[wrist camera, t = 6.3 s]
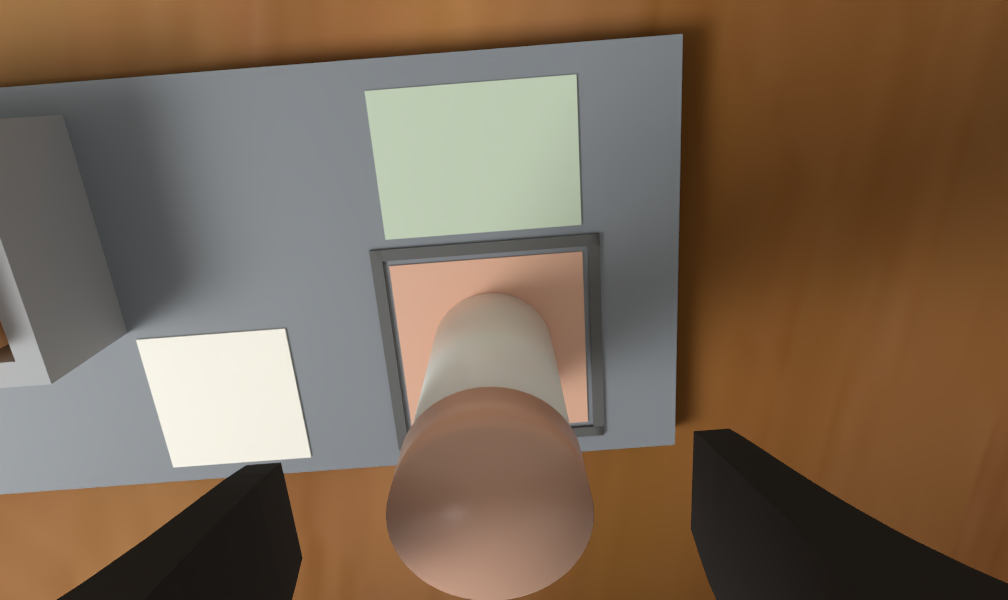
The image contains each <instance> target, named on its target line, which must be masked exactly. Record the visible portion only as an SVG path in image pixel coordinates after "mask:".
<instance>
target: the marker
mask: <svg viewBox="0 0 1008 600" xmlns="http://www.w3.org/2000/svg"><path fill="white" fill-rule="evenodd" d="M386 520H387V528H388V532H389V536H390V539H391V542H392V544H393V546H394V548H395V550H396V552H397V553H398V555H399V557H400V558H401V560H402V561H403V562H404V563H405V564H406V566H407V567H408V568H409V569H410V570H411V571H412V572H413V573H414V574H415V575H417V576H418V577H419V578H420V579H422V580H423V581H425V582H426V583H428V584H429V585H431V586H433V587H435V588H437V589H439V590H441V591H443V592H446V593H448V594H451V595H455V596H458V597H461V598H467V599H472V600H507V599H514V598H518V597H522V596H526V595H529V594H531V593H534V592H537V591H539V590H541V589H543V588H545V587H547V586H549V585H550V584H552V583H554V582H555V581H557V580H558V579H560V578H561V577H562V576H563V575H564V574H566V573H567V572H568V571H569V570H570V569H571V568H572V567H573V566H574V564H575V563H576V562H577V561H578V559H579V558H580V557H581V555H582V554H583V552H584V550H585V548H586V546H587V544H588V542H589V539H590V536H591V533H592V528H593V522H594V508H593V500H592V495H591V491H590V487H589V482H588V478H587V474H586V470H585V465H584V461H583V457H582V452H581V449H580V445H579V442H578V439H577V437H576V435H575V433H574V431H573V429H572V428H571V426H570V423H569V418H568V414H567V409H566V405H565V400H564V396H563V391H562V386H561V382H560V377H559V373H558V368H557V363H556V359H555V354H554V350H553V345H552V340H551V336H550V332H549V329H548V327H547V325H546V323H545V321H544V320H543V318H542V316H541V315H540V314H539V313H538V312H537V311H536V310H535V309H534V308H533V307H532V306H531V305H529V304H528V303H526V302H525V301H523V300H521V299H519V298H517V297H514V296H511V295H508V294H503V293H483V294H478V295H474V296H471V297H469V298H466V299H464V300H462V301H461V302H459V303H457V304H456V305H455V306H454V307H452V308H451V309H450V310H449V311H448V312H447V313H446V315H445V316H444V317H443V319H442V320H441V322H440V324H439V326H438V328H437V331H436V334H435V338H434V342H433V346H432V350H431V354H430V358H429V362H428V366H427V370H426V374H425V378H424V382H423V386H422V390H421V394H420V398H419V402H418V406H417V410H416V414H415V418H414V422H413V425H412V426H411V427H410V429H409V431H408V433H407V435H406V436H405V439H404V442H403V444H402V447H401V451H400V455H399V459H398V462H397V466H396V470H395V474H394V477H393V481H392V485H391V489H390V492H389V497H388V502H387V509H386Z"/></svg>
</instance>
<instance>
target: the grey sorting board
mask: <svg viewBox="0 0 1008 600" xmlns="http://www.w3.org/2000/svg"><path fill="white" fill-rule="evenodd" d="M682 53H683V34H674V35H662V36H649V37H636V38H624V39H611V40H598V41H585V42H573V43H560V44H547V45H535V46H522V47H509V48H497V49H484V50H471V51H459V52H446V53H433V54H421V55H408V56H395V57H383V58H370V59H357V60H345V61H332V62H319V63H307V64H294V65H281V66H268V67H256V68H243V69H230V70H218V71H205V72H192V73H180V74H167V75H154V76H142V77H129V78H116V79H104V80H91V81H78V82H66V83H53V84H40V85H28V86H15V87H2V88H0V321H1V324H2V326H3V329H4V332H5V334H6V337H7V340H8V343H9V344H8V345H6V346H4V347H2V348H0V494H11V493H25V492H38V491H52V490H65V489H79V488H93V487H106V486H120V485H133V484H147V483H161V482H174V481H188V480H201V479H215V478H228V477H229V476H230V475H232V474H233V473H235V472H236V471H238V470H239V469H241V468H243V467H244V466H246V465H254V464H267V463H281V465H282V469H283V473H296V472H310V471H324V470H337V469H351V468H364V467H378V466H391V465H397V462H398V459H399V455H400V451H401V447H402V444H403V442H404V439H405V436H406V435H407V433H408V431H409V429H410V427H411V426H412V425H413V422H414V418H415V414H416V410H417V406H418V402H419V398H420V394H421V390H422V386H423V382H424V378H425V374H426V370H427V366H428V362H429V358H430V354H431V350H432V346H433V342H434V338H435V334H436V331H437V328H438V326H439V324H440V322H441V320H442V319H443V317H444V316H445V315H446V313H447V312H448V311H449V310H450V309H451V308H452V307H454V306H455V305H456V304H457V303H459V302H461V301H462V300H464V299H466V298H469V297H471V296H474V295H478V294H483V293H503V294H508V295H511V296H514V297H517V298H519V299H521V300H523V301H525V302H526V303H528V304H529V305H531V306H532V307H533V308H534V309H535V310H536V311H537V312H538V313H539V314H540V315H541V316H542V318H543V320H544V321H545V323H546V325H547V327H548V329H549V332H550V336H551V340H552V345H553V350H554V354H555V359H556V363H557V368H558V373H559V377H560V382H561V386H562V391H563V396H564V400H565V405H566V409H567V414H568V418H569V423H570V426H571V428H572V429H573V431H574V433H575V435H576V437H577V439H578V442H579V445H580V449H581V452H582V451H595V450H609V449H622V448H636V447H650V446H663V445H675V406H676V356H677V305H678V255H679V204H680V154H681V103H682Z"/></svg>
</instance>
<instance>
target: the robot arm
mask: <svg viewBox="0 0 1008 600" xmlns="http://www.w3.org/2000/svg"><path fill="white" fill-rule="evenodd" d="M691 530H692V534H693V537H694V540H695V543H696V546H697V549H698V552H699V555H700V558H701V561H702V564H703V567H704V570H705V573H706V576H707V579H708V581H709V584H710V586H711V588H712V591H713V593H714V595H715V597H716V599H717V600H1008V583H1005V582H1003V581H1000V580H998V579H996V578H994V577H991V576H989V575H987V574H984V573H982V572H980V571H978V570H975V569H973V568H971V567H969V566H967V565H964V564H962V563H960V562H958V561H956V560H954V559H952V558H950V557H948V556H946V555H944V554H942V553H940V552H938V551H935V550H933V549H931V548H929V547H927V546H925V545H923V544H921V543H919V542H917V541H915V540H913V539H911V538H909V537H907V536H905V535H903V534H901V533H900V532H898V531H896V530H894V529H892V528H890V527H888V526H887V525H885V524H883V523H881V522H879V521H878V520H876V519H874V518H872V517H871V516H869V515H867V514H865V513H863V512H862V511H860V510H858V509H856V508H855V507H853V506H851V505H850V504H848V503H846V502H844V501H843V500H841V499H839V498H838V497H836V496H834V495H833V494H831V493H830V492H828V491H826V490H825V489H823V488H821V487H820V486H818V485H817V484H815V483H813V482H812V481H810V480H809V479H807V478H806V477H804V476H802V475H801V474H799V473H798V472H796V471H795V470H793V469H792V468H790V467H788V466H787V465H785V464H784V463H782V462H781V461H779V460H778V459H776V458H775V457H773V456H772V455H770V454H769V453H767V452H766V451H764V450H763V449H761V448H759V447H758V446H756V445H755V444H753V443H752V442H750V441H749V440H747V439H746V438H744V437H742V436H741V435H739V434H737V433H736V432H734V431H732V430H730V429H719V430H706V431H694V445H693V478H692V512H691ZM301 561H302V554H301V550H300V545H299V541H298V536H297V532H296V527H295V523H294V519H293V514H292V510H291V505H290V501H289V496H288V492H287V487H286V483H285V478H284V474H283V469H282V465H281V463H267V464H254V465H246V466H244V467H243V468H241V469H239V470H238V471H236V472H235V473H233V474H232V475H230V476H229V477H228V478H226V479H225V480H223V481H222V482H221V483H219V484H218V485H217V486H215V487H214V488H213V489H211V490H210V491H209V492H207V493H206V494H205V495H203V496H202V497H201V498H199V499H198V500H197V501H195V502H194V503H193V504H191V505H190V506H189V507H187V508H186V509H185V510H183V511H182V512H181V513H179V514H178V515H177V516H175V517H174V518H173V519H171V520H170V521H169V522H167V523H166V524H165V525H163V526H162V527H161V528H159V529H158V530H157V531H155V532H154V533H153V534H151V535H150V536H149V537H147V538H146V539H145V540H143V541H142V542H140V543H139V544H138V545H136V546H135V547H133V548H132V549H130V550H129V551H128V552H126V553H125V554H123V555H122V556H120V557H119V558H118V559H116V560H115V561H113V562H112V563H110V564H109V565H108V566H106V567H105V568H103V569H102V570H100V571H99V572H98V573H96V574H95V575H93V576H92V577H90V578H89V579H88V580H86V581H85V582H83V583H82V584H80V585H79V586H77V587H76V588H74V589H73V590H71V591H70V592H68V593H66V594H65V595H63V596H62V597H60V598H59V599H57V600H292V597H293V593H294V590H295V586H296V582H297V578H298V573H299V569H300V565H301Z"/></svg>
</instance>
